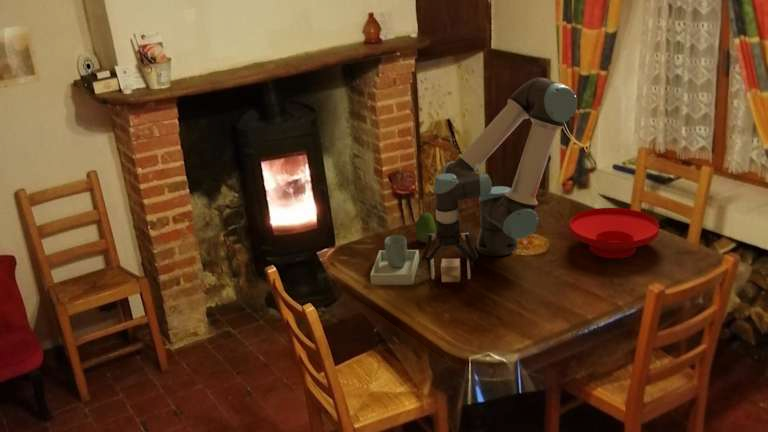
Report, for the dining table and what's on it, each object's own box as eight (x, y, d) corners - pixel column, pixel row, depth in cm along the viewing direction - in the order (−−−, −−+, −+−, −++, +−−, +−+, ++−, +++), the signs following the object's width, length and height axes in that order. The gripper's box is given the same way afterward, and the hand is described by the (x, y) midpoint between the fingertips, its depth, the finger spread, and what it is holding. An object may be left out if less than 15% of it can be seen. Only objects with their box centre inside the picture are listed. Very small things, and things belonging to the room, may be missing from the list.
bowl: (562, 263, 285) (562, 237, 281) (577, 228, 311) (577, 204, 307) (653, 271, 274) (655, 244, 270) (661, 235, 300) (662, 209, 296)
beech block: (460, 274, 285) (459, 258, 283) (459, 282, 279) (458, 266, 277) (443, 274, 286) (442, 258, 284) (441, 282, 280) (440, 266, 278)
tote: (419, 259, 298) (418, 250, 296) (412, 284, 280) (411, 274, 279) (380, 260, 300) (379, 250, 299) (371, 285, 283) (370, 274, 281)
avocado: (441, 241, 311) (439, 212, 306) (424, 248, 307) (422, 218, 302) (428, 235, 317) (426, 206, 312) (411, 241, 313) (409, 212, 309)
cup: (406, 270, 289) (403, 244, 285) (384, 270, 291) (382, 244, 287) (410, 260, 296) (408, 235, 292) (389, 260, 298) (386, 235, 294)
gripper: (484, 214, 275) (486, 272, 284) (413, 215, 280) (417, 272, 288) (483, 223, 269) (485, 282, 277) (410, 224, 273) (415, 282, 281)
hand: (451, 277), depth 283 cm, fingers open, 12 cm apart
